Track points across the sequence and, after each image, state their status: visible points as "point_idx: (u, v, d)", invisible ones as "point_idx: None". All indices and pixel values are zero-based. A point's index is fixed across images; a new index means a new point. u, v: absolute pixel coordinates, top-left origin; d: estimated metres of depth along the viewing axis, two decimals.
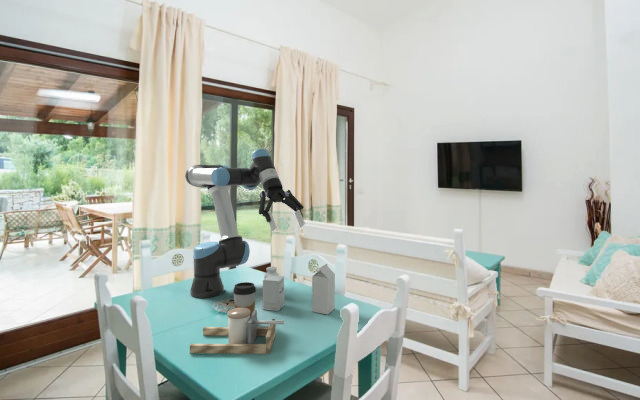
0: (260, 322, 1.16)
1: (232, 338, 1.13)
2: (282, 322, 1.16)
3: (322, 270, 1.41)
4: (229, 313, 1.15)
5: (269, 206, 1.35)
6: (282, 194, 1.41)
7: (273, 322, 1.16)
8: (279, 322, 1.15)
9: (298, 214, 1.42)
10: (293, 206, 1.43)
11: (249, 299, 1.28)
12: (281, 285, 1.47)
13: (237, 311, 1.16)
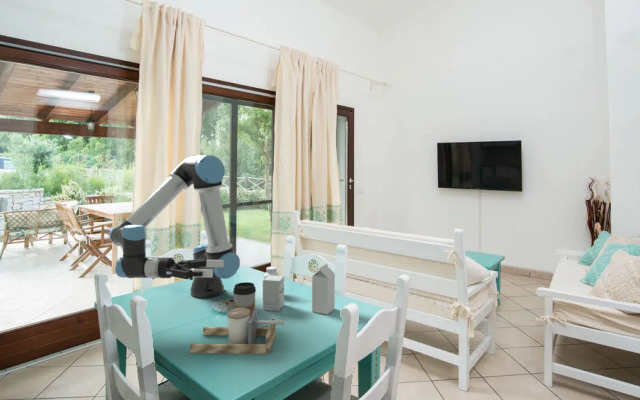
0: (260, 322, 1.16)
1: (232, 338, 1.13)
2: (282, 322, 1.16)
3: (322, 270, 1.41)
4: (229, 313, 1.15)
5: None
6: None
7: (273, 322, 1.16)
8: (279, 322, 1.15)
9: None
10: None
11: (249, 299, 1.28)
12: (281, 285, 1.47)
13: (237, 311, 1.16)
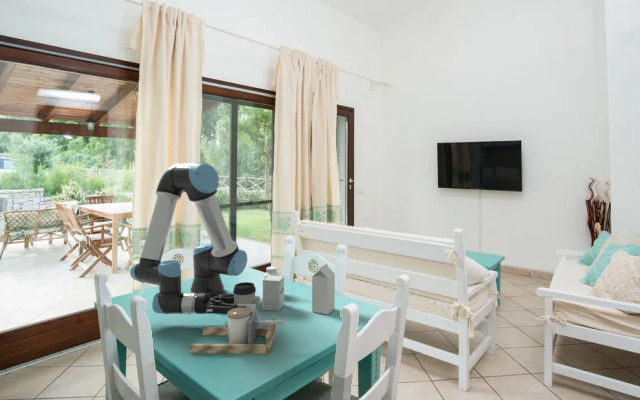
0: (260, 322, 1.16)
1: (232, 338, 1.13)
2: (282, 322, 1.16)
3: (322, 270, 1.41)
4: (229, 313, 1.15)
5: None
6: None
7: (273, 322, 1.16)
8: (279, 322, 1.15)
9: None
10: None
11: (249, 299, 1.28)
12: (281, 285, 1.47)
13: (237, 311, 1.16)
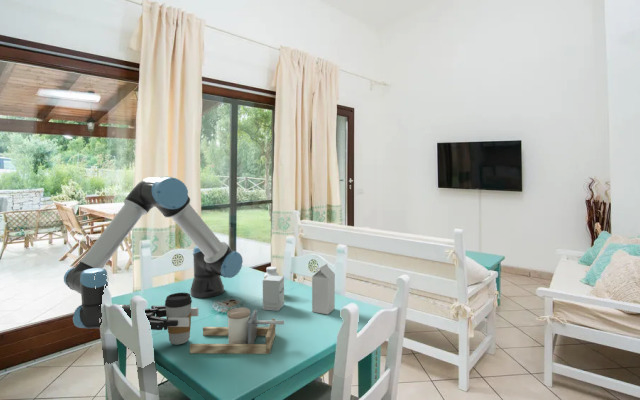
0: (260, 322, 1.16)
1: (232, 338, 1.13)
2: (282, 322, 1.16)
3: (322, 270, 1.41)
4: (229, 313, 1.15)
5: None
6: None
7: (273, 322, 1.16)
8: (279, 322, 1.15)
9: None
10: None
11: (182, 312, 1.13)
12: (281, 285, 1.47)
13: (237, 311, 1.16)
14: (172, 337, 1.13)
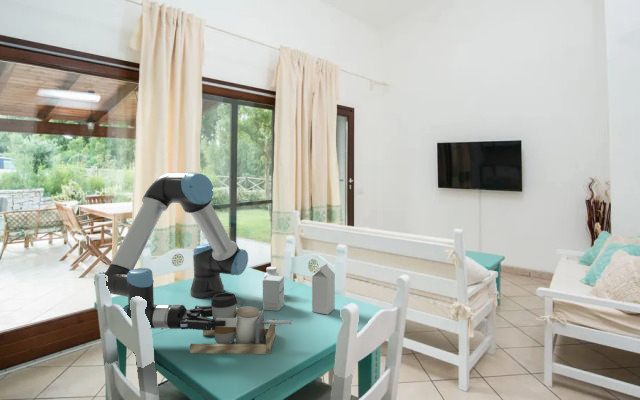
0: (268, 322, 1.16)
1: (239, 336, 1.14)
2: (290, 322, 1.16)
3: (322, 270, 1.41)
4: (239, 311, 1.15)
5: None
6: None
7: (281, 322, 1.16)
8: (286, 322, 1.15)
9: None
10: None
11: (229, 312, 1.13)
12: (281, 285, 1.47)
13: (247, 310, 1.16)
14: (219, 337, 1.13)
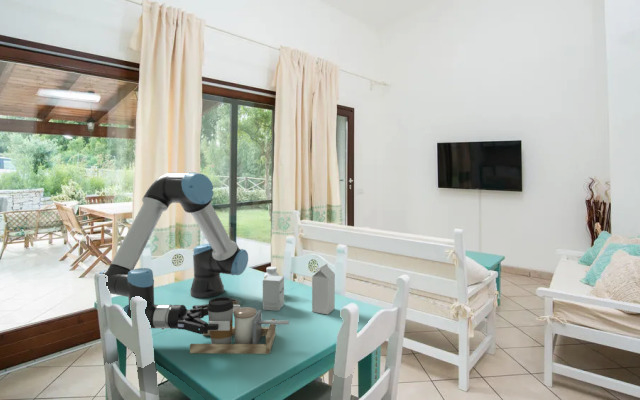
0: (265, 322, 1.16)
1: (238, 337, 1.14)
2: (287, 322, 1.16)
3: (322, 270, 1.41)
4: (235, 312, 1.15)
5: None
6: None
7: (278, 322, 1.16)
8: (283, 322, 1.15)
9: None
10: None
11: (226, 316, 1.12)
12: (281, 285, 1.47)
13: (243, 311, 1.16)
14: (216, 342, 1.12)
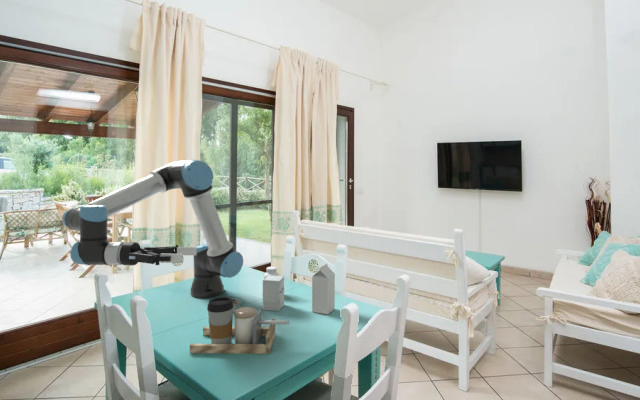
0: (265, 322, 1.16)
1: (238, 337, 1.14)
2: (287, 322, 1.16)
3: (322, 270, 1.41)
4: (235, 312, 1.15)
5: None
6: None
7: (278, 322, 1.16)
8: (283, 322, 1.15)
9: None
10: None
11: (226, 316, 1.12)
12: (281, 285, 1.47)
13: (243, 311, 1.16)
14: (216, 342, 1.12)
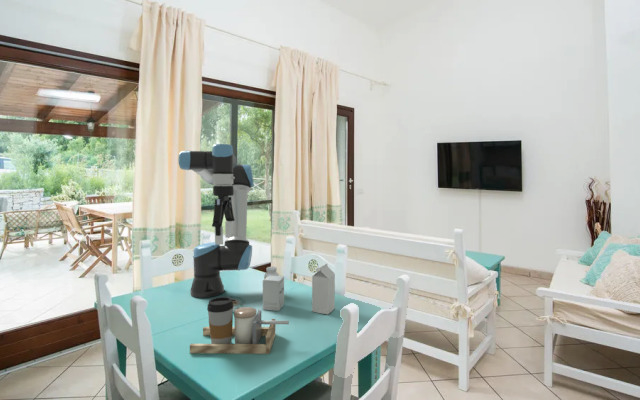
0: (265, 322, 1.16)
1: (238, 337, 1.14)
2: (287, 322, 1.16)
3: (322, 270, 1.41)
4: (235, 312, 1.15)
5: (222, 219, 1.27)
6: (229, 204, 1.35)
7: (278, 322, 1.16)
8: (283, 322, 1.15)
9: (230, 225, 1.40)
10: (229, 216, 1.39)
11: (226, 316, 1.12)
12: (281, 285, 1.47)
13: (243, 311, 1.16)
14: (216, 342, 1.12)
